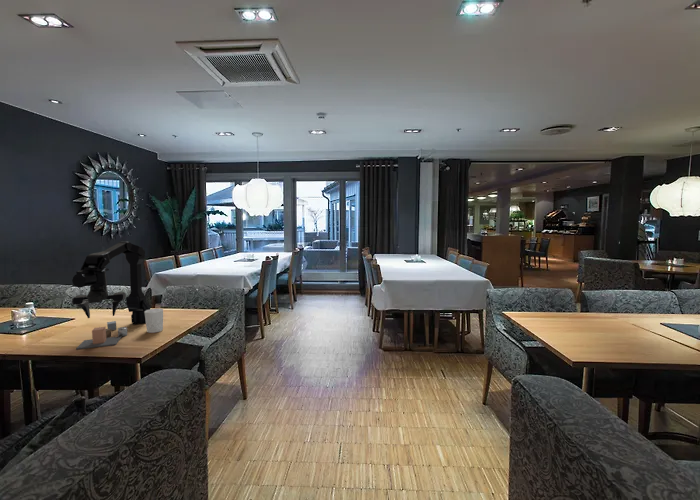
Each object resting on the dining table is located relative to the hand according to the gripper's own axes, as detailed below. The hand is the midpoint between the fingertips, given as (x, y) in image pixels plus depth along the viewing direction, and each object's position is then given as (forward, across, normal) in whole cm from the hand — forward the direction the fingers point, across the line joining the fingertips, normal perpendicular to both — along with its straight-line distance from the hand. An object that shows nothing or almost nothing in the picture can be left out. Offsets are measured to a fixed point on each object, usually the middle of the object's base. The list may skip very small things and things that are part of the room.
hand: (101, 316), depth 155 cm
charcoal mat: (+11, 0, -4) cm, 11 cm away
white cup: (+11, +20, +6) cm, 23 cm away
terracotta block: (+10, 0, -4) cm, 11 cm away
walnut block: (+11, 0, +4) cm, 12 cm away
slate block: (+11, 0, +16) cm, 20 cm away
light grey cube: (+11, +7, +4) cm, 13 cm away
